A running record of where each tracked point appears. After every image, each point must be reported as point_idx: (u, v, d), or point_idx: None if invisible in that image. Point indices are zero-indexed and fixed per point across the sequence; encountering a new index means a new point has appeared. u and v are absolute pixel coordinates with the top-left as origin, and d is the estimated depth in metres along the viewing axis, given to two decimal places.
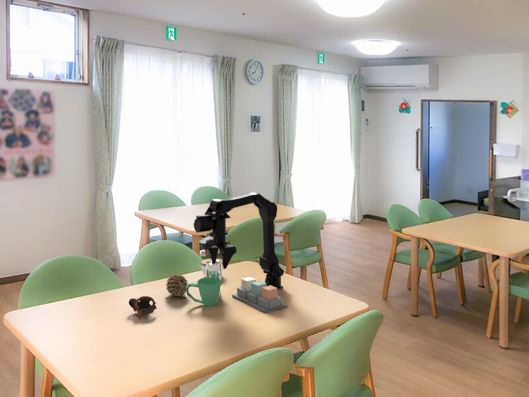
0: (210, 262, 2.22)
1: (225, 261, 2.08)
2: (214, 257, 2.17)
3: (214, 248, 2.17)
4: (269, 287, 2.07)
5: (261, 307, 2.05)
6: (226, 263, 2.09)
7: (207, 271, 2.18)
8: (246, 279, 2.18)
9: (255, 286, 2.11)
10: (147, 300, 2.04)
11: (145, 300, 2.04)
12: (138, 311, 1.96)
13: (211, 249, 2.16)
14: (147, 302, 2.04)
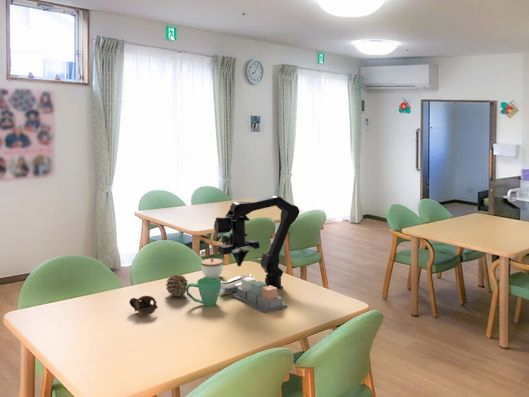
0: None
1: (236, 258, 2.23)
2: None
3: (241, 251, 2.23)
4: (269, 287, 2.07)
5: (261, 307, 2.05)
6: (237, 261, 2.23)
7: (245, 277, 2.27)
8: (246, 279, 2.18)
9: (255, 286, 2.11)
10: (148, 300, 2.04)
11: (146, 300, 2.04)
12: (139, 311, 1.97)
13: (239, 251, 2.24)
14: (148, 302, 2.05)
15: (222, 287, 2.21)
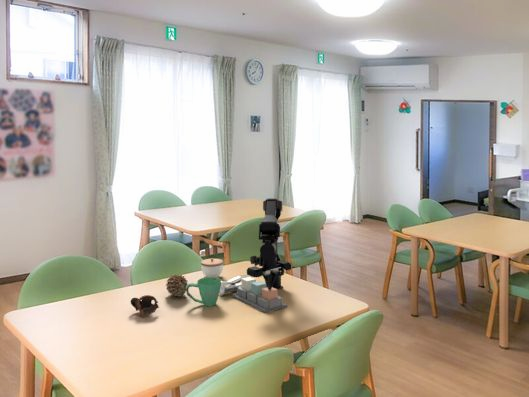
0: None
1: (266, 281, 2.06)
2: None
3: (271, 273, 2.06)
4: None
5: (261, 307, 2.05)
6: (267, 284, 2.06)
7: (245, 277, 2.27)
8: (246, 279, 2.18)
9: (255, 286, 2.11)
10: (149, 299, 2.05)
11: (147, 299, 2.05)
12: (140, 310, 1.97)
13: (269, 273, 2.07)
14: (149, 301, 2.05)
15: (222, 287, 2.21)
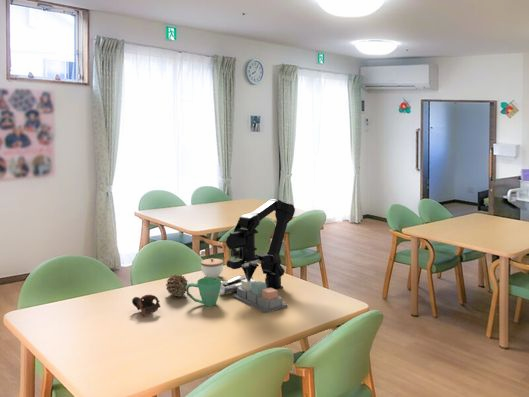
0: None
1: (245, 273, 2.18)
2: (250, 274, 2.18)
3: (250, 265, 2.18)
4: (269, 290, 2.07)
5: (261, 307, 2.05)
6: (246, 275, 2.18)
7: (245, 277, 2.27)
8: (246, 281, 2.18)
9: (255, 286, 2.11)
10: (150, 299, 2.05)
11: (148, 299, 2.05)
12: (142, 310, 1.98)
13: (248, 265, 2.19)
14: (150, 301, 2.06)
15: (222, 287, 2.21)
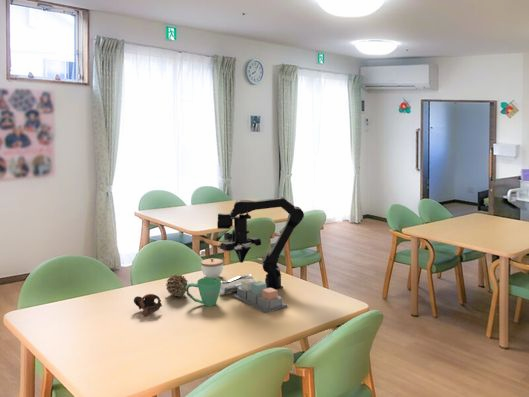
0: None
1: (238, 255, 2.29)
2: None
3: (243, 248, 2.29)
4: (269, 290, 2.07)
5: (261, 307, 2.05)
6: (239, 257, 2.28)
7: (245, 277, 2.27)
8: (246, 281, 2.18)
9: (255, 286, 2.11)
10: (152, 298, 2.06)
11: (150, 298, 2.06)
12: (144, 309, 1.99)
13: (241, 248, 2.30)
14: (152, 300, 2.07)
15: (222, 287, 2.21)
